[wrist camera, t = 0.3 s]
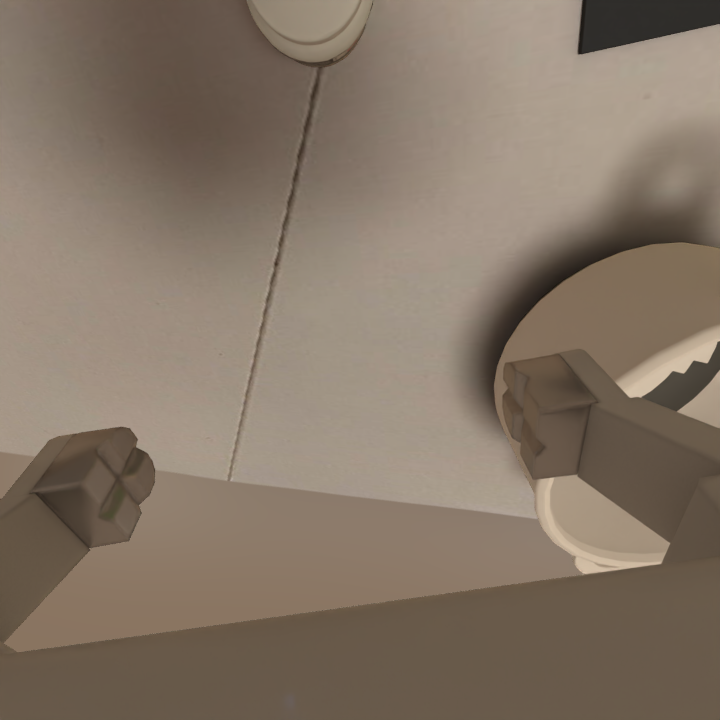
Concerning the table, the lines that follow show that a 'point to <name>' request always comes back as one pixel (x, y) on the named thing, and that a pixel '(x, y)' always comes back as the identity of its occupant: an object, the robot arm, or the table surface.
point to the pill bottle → (312, 27)
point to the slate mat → (641, 20)
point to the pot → (625, 376)
